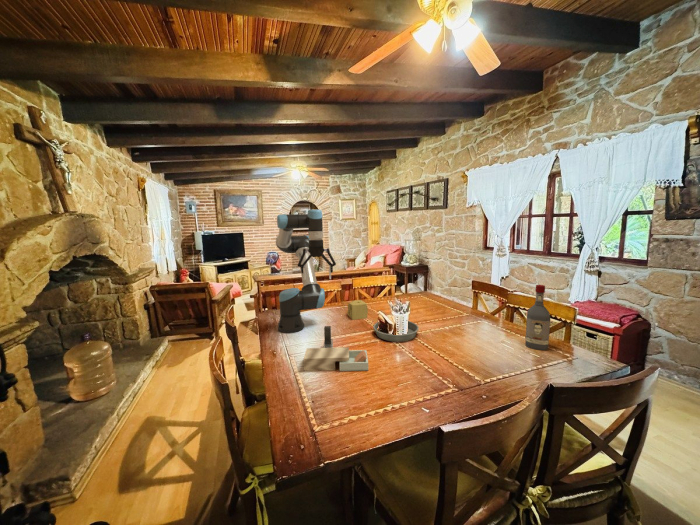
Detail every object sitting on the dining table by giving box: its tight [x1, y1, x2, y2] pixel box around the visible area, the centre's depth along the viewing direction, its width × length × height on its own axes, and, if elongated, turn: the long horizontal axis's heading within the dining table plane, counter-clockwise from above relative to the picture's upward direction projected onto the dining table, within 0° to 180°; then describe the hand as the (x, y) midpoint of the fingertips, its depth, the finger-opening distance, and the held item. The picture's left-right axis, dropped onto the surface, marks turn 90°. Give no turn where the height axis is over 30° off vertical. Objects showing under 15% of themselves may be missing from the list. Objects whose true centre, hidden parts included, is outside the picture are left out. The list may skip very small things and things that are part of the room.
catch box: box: [339, 349, 369, 372], centre depth 127 cm, size 12×12×4 cm
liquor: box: [524, 284, 551, 351], centre depth 138 cm, size 9×9×30 cm
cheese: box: [346, 299, 369, 321], centre depth 189 cm, size 10×11×10 cm
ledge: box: [303, 346, 350, 372], centre depth 126 cm, size 19×10×6 cm, turn 91°
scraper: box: [322, 325, 334, 348], centre depth 140 cm, size 4×10×12 cm, turn 1°
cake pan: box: [372, 320, 420, 343], centre depth 160 cm, size 25×25×4 cm
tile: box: [355, 349, 367, 362], centre depth 126 cm, size 5×5×2 cm
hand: (317, 279), depth 155 cm, fingers open, 13 cm apart
